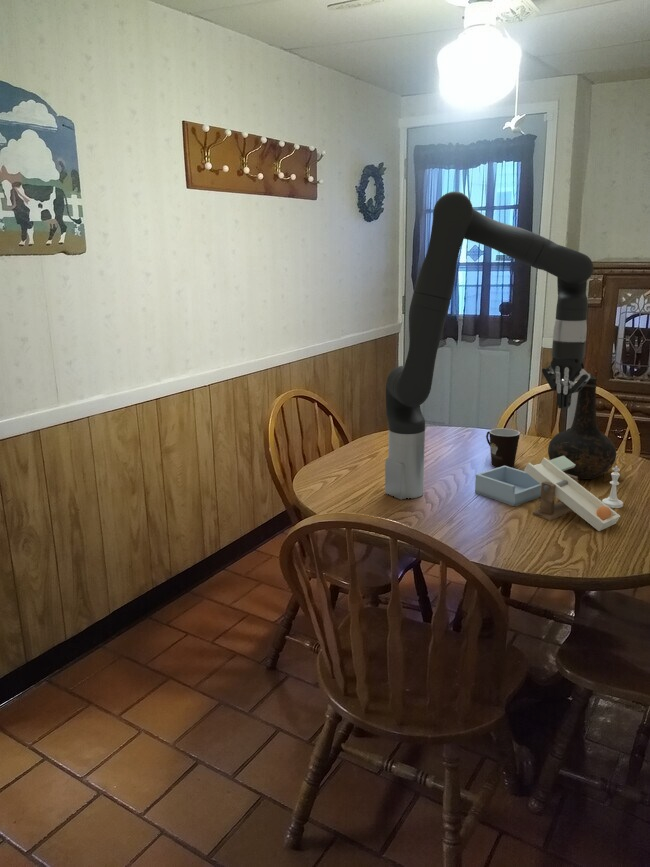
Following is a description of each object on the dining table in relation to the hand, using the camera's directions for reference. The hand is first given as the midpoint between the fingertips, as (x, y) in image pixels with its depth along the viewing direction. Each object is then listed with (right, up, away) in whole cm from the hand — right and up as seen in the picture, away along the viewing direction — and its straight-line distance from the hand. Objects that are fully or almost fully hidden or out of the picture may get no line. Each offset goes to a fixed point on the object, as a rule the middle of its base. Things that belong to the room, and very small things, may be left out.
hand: (563, 408), depth 165 cm
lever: (+2, -20, -5) cm, 21 cm away
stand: (-3, -25, -4) cm, 26 cm away
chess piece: (+12, -24, -1) cm, 27 cm away
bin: (-12, -22, +7) cm, 26 cm away
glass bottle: (+12, -18, +21) cm, 30 cm away
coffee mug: (-7, -15, +32) cm, 36 cm away
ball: (+4, -24, -14) cm, 28 cm away
